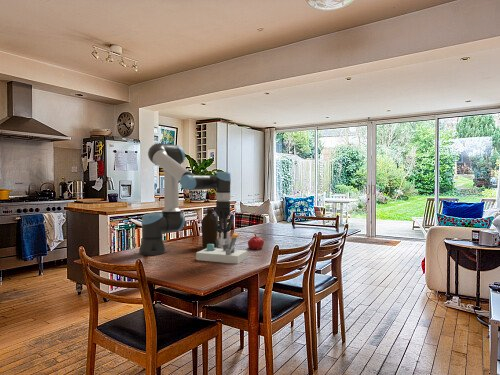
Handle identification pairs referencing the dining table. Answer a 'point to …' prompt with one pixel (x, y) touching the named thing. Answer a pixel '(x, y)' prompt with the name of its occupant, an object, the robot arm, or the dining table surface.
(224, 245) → the slider
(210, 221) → the olive oil
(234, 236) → the lever
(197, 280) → the dining table surface
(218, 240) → the electrical switch
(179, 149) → the robot arm
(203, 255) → the panel
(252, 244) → the pomegranate
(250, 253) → the dining table surface
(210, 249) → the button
